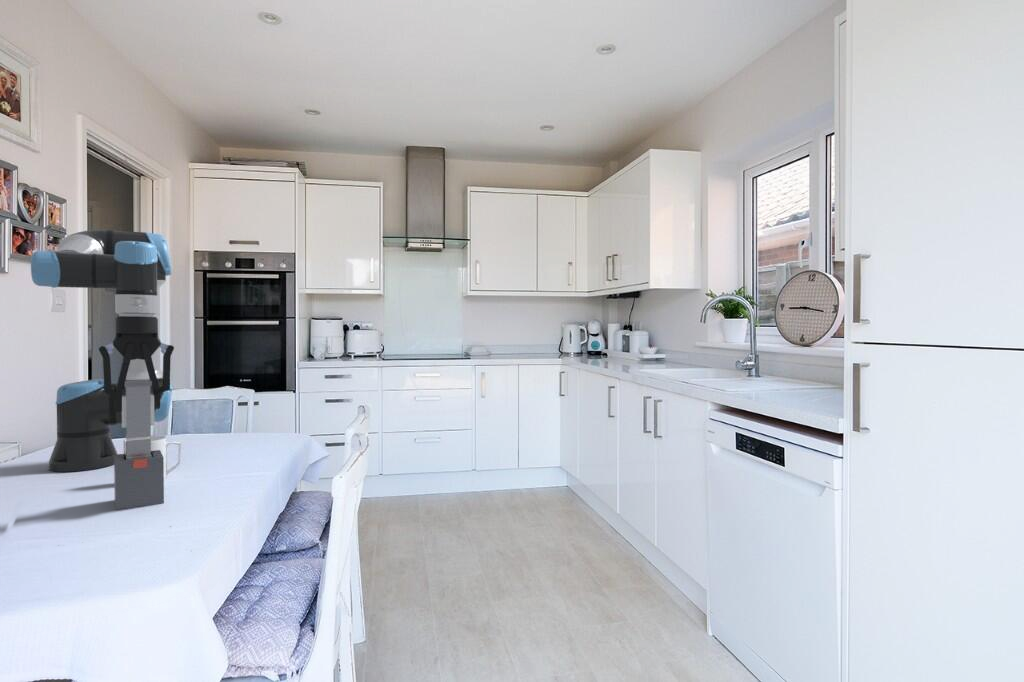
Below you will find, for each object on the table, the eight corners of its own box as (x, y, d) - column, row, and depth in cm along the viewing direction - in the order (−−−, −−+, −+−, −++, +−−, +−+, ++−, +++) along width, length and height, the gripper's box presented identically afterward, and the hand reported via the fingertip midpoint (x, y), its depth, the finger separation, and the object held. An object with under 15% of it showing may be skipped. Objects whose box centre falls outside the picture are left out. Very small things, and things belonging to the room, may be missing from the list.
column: (124, 482, 123) (123, 380, 122) (151, 479, 126) (150, 379, 125) (125, 488, 119) (124, 382, 119) (153, 484, 122) (151, 381, 121)
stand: (92, 506, 123) (92, 454, 123) (178, 494, 132) (178, 445, 132) (92, 522, 113) (91, 465, 113) (185, 507, 123) (185, 455, 122)
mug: (121, 490, 134) (121, 443, 134) (126, 481, 142) (126, 437, 142) (180, 484, 140) (180, 439, 140) (182, 476, 148) (182, 433, 148)
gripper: (85, 314, 113) (87, 432, 114) (185, 316, 123) (186, 424, 124) (86, 315, 119) (87, 427, 120) (181, 316, 130) (182, 419, 130)
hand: (138, 425), depth 122 cm, fingers closed on column, 4 cm apart
